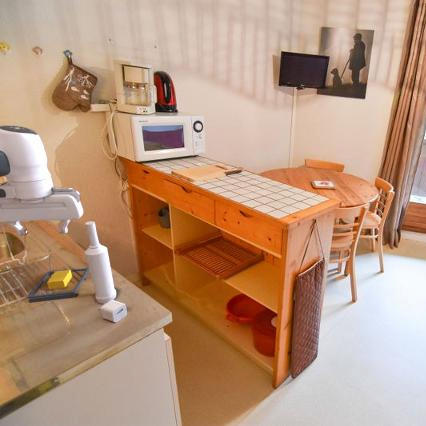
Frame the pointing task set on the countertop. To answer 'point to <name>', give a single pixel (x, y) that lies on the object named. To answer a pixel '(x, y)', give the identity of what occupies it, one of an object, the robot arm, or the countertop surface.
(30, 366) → the countertop surface
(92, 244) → the bottle
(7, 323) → the countertop surface
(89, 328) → the countertop surface
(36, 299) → the dark grey flat frame
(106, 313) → the usb wall charger
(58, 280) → the sponge
